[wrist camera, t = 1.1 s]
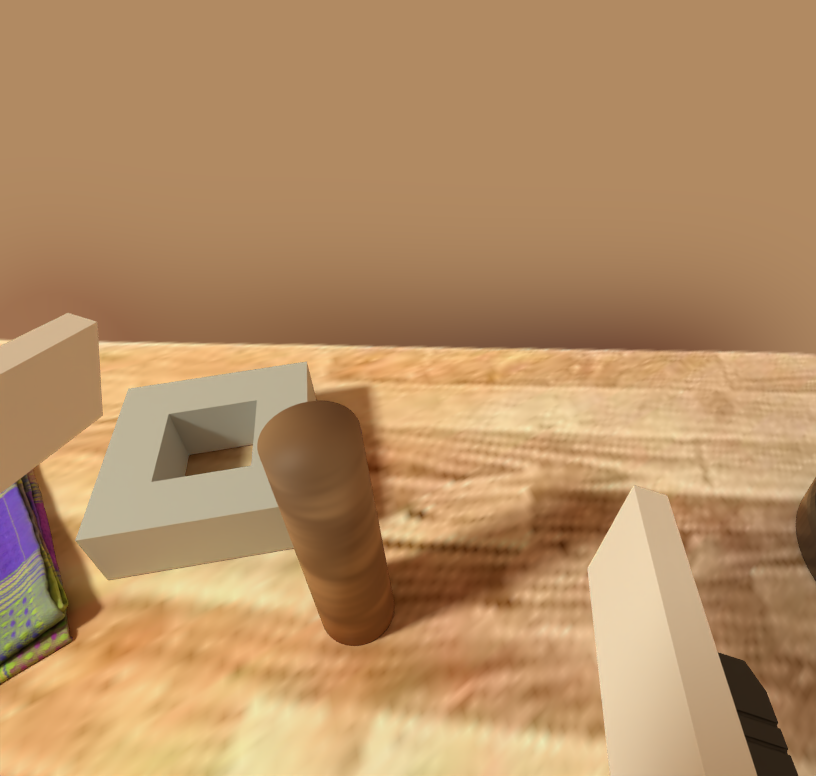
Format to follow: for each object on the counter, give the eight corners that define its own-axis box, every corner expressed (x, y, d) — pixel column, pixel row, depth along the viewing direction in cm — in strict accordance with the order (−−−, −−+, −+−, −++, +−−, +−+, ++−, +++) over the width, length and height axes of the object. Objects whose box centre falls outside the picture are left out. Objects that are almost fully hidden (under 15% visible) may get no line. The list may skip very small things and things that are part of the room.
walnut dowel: (389, 570, 36) (356, 394, 26) (399, 638, 32) (364, 466, 23) (320, 582, 35) (259, 409, 26) (322, 652, 32) (254, 484, 22)
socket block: (317, 402, 48) (306, 361, 45) (322, 543, 38) (308, 501, 35) (150, 429, 47) (128, 388, 44) (107, 580, 37) (75, 540, 34)
